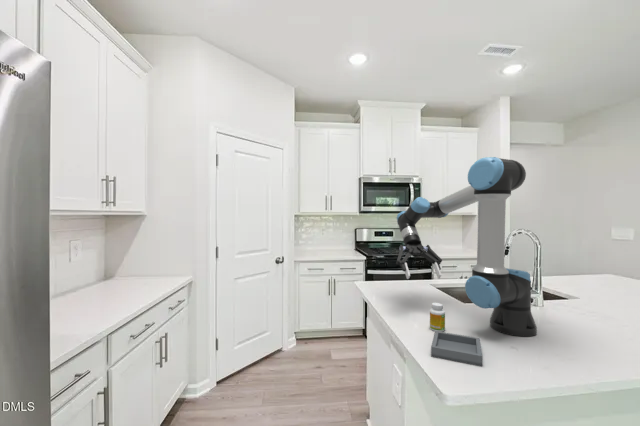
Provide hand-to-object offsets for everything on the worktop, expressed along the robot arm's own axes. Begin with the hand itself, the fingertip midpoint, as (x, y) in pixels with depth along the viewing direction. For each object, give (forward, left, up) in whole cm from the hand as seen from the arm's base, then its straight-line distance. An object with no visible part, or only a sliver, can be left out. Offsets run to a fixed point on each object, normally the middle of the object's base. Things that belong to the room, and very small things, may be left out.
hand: (424, 277), depth 124 cm
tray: (-13, +27, -18) cm, 35 cm away
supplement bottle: (-6, +10, -18) cm, 21 cm away
